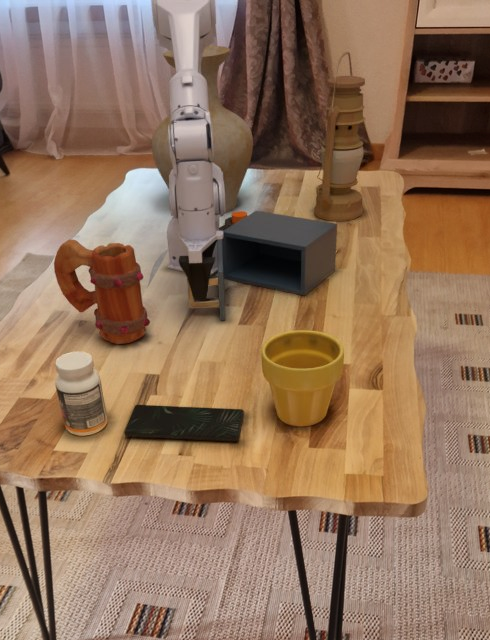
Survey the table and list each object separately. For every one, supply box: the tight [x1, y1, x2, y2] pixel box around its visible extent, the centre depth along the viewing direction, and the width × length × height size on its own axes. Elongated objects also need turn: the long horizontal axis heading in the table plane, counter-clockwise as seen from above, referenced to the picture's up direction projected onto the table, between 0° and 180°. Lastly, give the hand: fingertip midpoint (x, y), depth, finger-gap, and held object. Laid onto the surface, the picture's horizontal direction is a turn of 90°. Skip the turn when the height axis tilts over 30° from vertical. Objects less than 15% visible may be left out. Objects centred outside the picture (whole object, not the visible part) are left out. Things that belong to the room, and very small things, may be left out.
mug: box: [53, 238, 151, 345], centre depth 113 cm, size 15×8×15 cm, turn 71°
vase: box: [151, 45, 254, 213], centre depth 155 cm, size 22×22×30 cm
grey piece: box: [186, 239, 226, 321], centre depth 123 cm, size 6×17×8 cm, turn 1°
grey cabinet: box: [222, 210, 338, 297], centre depth 130 cm, size 12×17×9 cm
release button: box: [231, 210, 248, 224], centre depth 147 cm, size 3×3×2 cm
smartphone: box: [123, 404, 245, 442], centre depth 96 cm, size 7×1×15 cm
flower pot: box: [260, 329, 345, 427], centre depth 94 cm, size 10×10×10 cm
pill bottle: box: [54, 350, 108, 437], centre depth 95 cm, size 6×6×10 cm
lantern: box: [313, 50, 366, 222], centre depth 147 cm, size 15×10×30 cm
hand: (202, 288), depth 121 cm, fingers open, 7 cm apart
